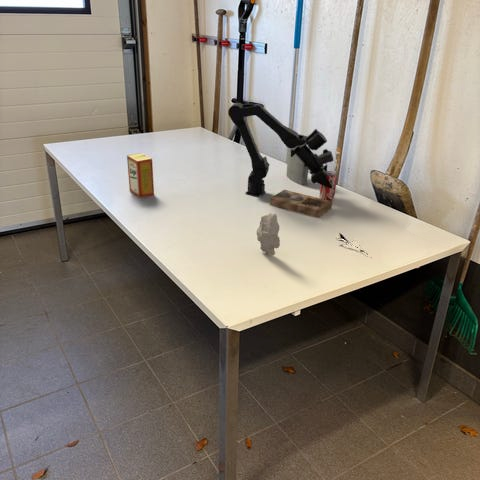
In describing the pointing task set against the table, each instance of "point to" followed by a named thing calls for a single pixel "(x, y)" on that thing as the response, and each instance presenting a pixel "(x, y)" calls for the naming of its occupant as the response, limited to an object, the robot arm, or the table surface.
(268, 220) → the grey figurine
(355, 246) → the toy airplane
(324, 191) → the soda can
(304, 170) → the hip flask
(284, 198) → the wooden tray
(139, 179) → the baking soda box
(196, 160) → the table surface
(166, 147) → the table surface
